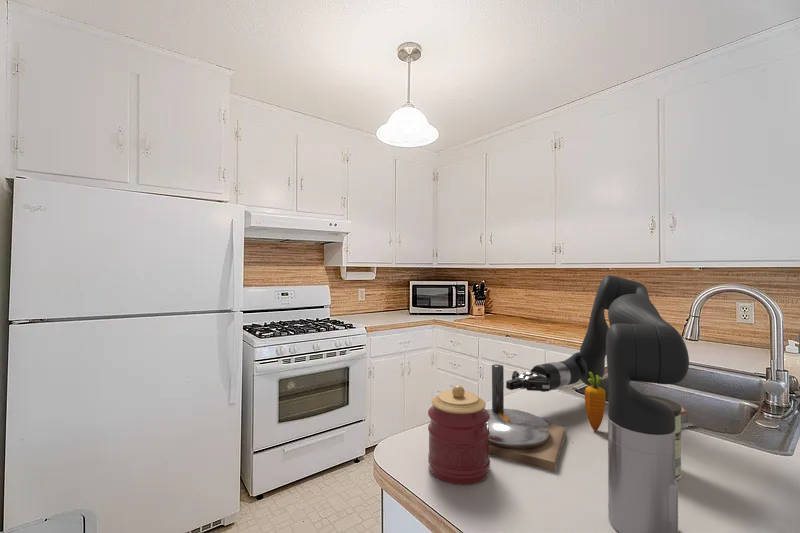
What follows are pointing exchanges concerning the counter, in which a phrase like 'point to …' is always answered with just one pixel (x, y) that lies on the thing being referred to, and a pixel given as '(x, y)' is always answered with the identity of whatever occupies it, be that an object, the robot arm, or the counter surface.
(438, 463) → the canister
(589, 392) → the carrot
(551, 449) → the base board
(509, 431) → the wheel
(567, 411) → the counter surface
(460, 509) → the counter surface
